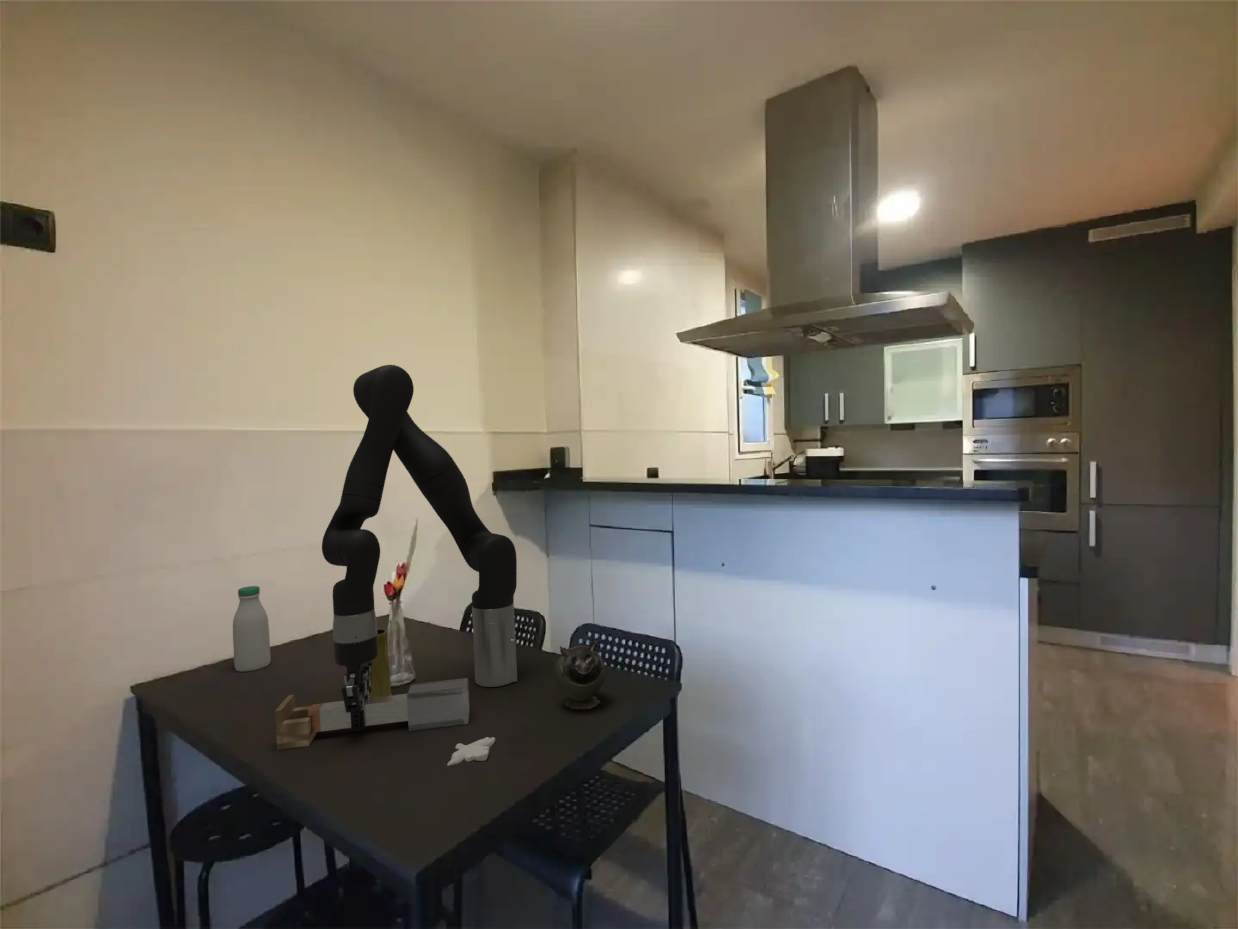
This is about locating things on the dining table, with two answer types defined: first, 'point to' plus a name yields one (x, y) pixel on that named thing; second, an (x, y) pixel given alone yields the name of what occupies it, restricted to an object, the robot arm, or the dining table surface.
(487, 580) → the robot arm
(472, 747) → the acanthus leaf ornament
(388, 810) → the dining table surface
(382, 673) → the vase
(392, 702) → the white orange-tipped bar
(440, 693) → the sleeve
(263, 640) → the milk bottle
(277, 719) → the socket
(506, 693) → the dining table surface
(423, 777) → the dining table surface
